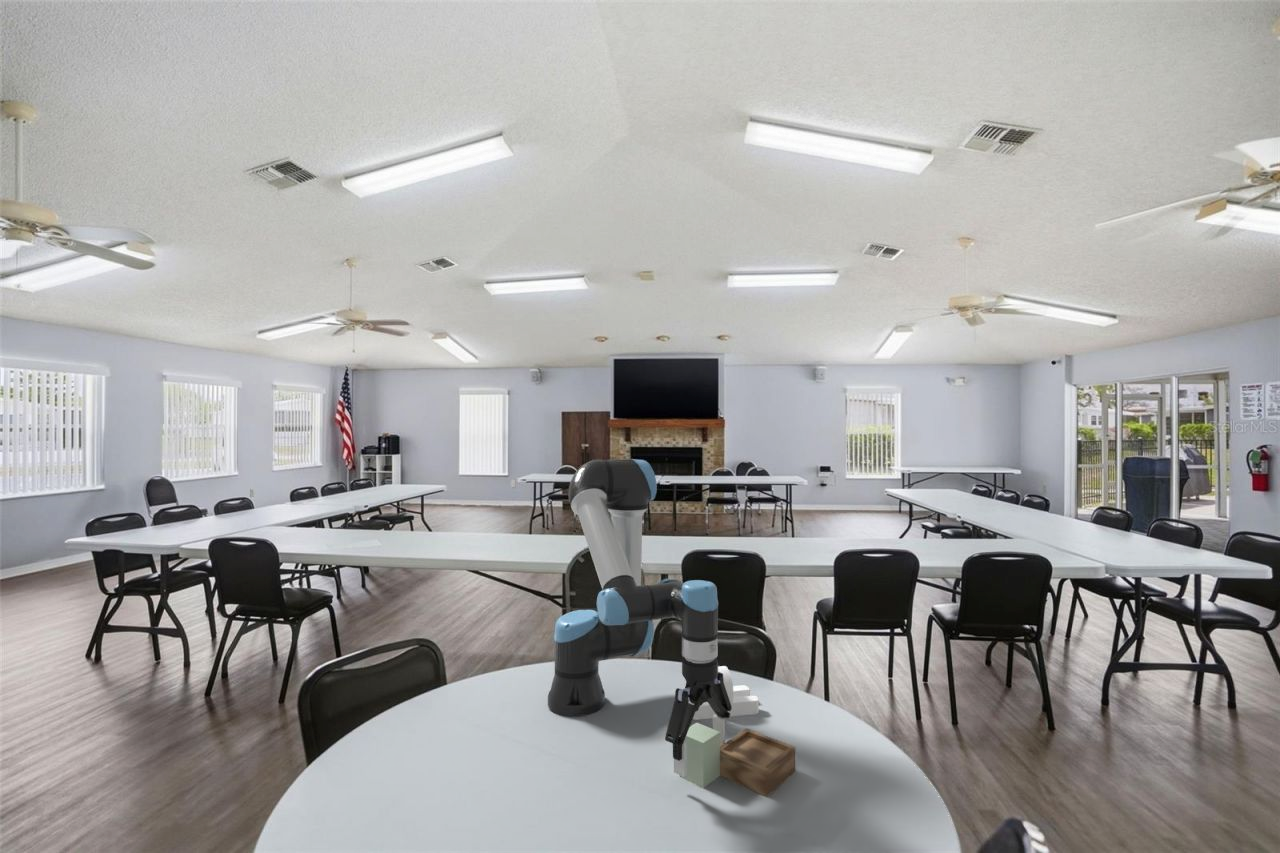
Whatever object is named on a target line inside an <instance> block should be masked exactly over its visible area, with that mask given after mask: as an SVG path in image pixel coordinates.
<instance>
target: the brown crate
mask: <svg viewBox="0 0 1280 853" xmlns="http://www.w3.org/2000/svg"><path fill="white" fill-rule="evenodd" d="M795 772H796V747H795V746H793V745H792V744H791V745H790V744H788V743H786V742H783V741H782V740H781V741H780V740H778V739H775V738H772V737H771V736H768V735H765V734H762V733H760V732H757V731H754V730H753V729H749V728H745V729H743V730H742V731H740V732H739V733H738V734H737V733H736V734H735V735H734V736H733V737H731V738H730V739H729V740H727V741H725V743H724V744H723V745H721V746H720V777H722V778H726V779H728V780H729V781H731V782H734V783H736V784H738V785H741V786H743V787H744V788H747V789H748V790H751V791H753V792H755V793H757V794H759V795H762V796H764V797H766V798H767V797H769V796H770V795H771V794H772V793H773V792H774V791H775V790H776V789H778V788H779V787H780V786H781V785H782V784H783V783H784V782H785V781H786V780H787V779H788V778H789V777H790V776H792V775H793V774H794V773H795Z"/></svg>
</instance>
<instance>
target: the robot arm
mask: <svg viewBox="0 0 1280 853" xmlns="http://www.w3.org/2000/svg"><path fill="white" fill-rule="evenodd" d="M657 487H658V486H657V477H656V474H655V471H654V470H653V468H652V466H651V464H650V463H649V462H648V461H647V460H645V459H636V458H635V459H634V458H625V459H624V458H623V459H621V458H620V459H617V458H616V459H592V460H590V461H587V462H586V463H584V464H583V465H581V466H580V467H579V468H578V469H577V470H576V472H575V473H574V474H573V476H572V478H571V480H570V483H569V486H568V501H569V504H570V507H571V510H572V512H573V513H574V514H575V515H577V516H578V519H579V522H580V526H581V528H582V531H583V532H582V533H583V534H584V538H585V540H586V544H587V546H588V550H589V552H590V553H589V554H590V555H591V559H592V562H593V564H594V567H595V568H594V569H595V572H596V574H597V577H598V579H599V583H600V586H601V589H602V590H601V591H599V592H598V595H597V598H596V608H597V611H596V610H594V609H577V610H572V611H570V612H567V613H565V614H563V615H561V616H560V617H558V619H557V620H556V622H555V625H554V626H555V629H554V635H553V639H554V676H553V679H552V683H551V686H550V690H549V692H548V694H547V708H548V709H549V710H550V711H551V712H553V713H555V714H557V715H561V716H567V717H568V716H569V717H581V716H586V715H591V714H594V713H596V712H597V711H599V710H601V709H603V707H604V706H605V704H606V692H605V690H604V688H603V684H602V680H601V676H600V674H599V665H600V664H599V662H601V661H608V660H614V659H615V660H616V659H618V658H620V659H621V658H629V657H635V656H637V655H641V654H645V653H647V651H649V649H650V647H651V646H652V643H653V641H654V632H655V627H654V626H655V625H654V622H653V621H655V620H656V621H657V620H664V619H670V618H673V619H677V620H678V621H680V622H681V656H682V658H681V674H682V676H683V678H684V680H685V682H686V683H685V687H684V688H679V687H677V688H675V692H674V703H673V707H672V710H671V714H670V718H669V722H668V724H667V729H666V733H665V736H664V740H665V741H666V742H669V743H670V744H672V759H673V773H675V774H676V775H678V776H679V777H680V776H682V777H686V776H687V743H686V742H684V740H685V737H686V735H687V732H688V730H689V727H690V726H691V724H692V721H693V720H694V719H693V716H694V714H695V712H696V711H698V709H699V707H700V706H701V705H702V704H703V703H704V702H708V703H709V705H710V706H711V708H712V709H713V711H714V712H715V714H717V715H713V718H712V729H714V730H716V731H719V732H720V746H721V745H723V744H724V743H726V719H729V718H731V717H730V713H729V712H728V711H731V709H732V706H731V703H730V700H729V697H728V694H727V691H726V688H725V685H724V682H723V673H720V672H718V667H719V660H718V658H717V657H718V655H719V654H718V651H719V650H718V648H719V647H718V644H719V643H718V634H719V633H718V632H719V630H718V629H719V628H718V626H719V625H718V624H719V599H718V588H717V585H716V584H715V583H713V582H712V581H709V580H701V579H694V580H687V581H685V582H683V581H681V580H678V579H673V578H663V579H662V580H661V581H658V582H657V583H655V584H646V585H642V554H643V553H642V549H643V547H642V546H643V545H642V544H643V515H644V513H646V512H647V511H648V510H649V502H652V501H654V499H655V498H656V495H657V491H658V490H657V489H658V488H657ZM689 700H690V702H691V703H692V704H690V703H688V702H689ZM693 704H694V705H693ZM682 777H681V778H682Z"/></svg>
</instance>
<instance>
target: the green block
mask: <svg viewBox="0 0 1280 853" xmlns="http://www.w3.org/2000/svg"><path fill="white" fill-rule="evenodd" d="M684 742H686V743H687V776H686V777H682V776H680V775H679V777H680V778H682V779H683V780H686V781H687V782H690V783H692V784H694V785H695V786H698V787H700V788H702V789H704V788H706V787H707V786H708V785H709V784H711V783H713V782H714V781H715V780H716V779H717V778H719V777H721V775H720V732H719V731H716V730H714V729H713V728H711V727H708V726H706V725H704V724H702V723H699V722H695V723H694V724H692V725H690V727H689V730H688V732H687V735H686V737H685V740H684Z"/></svg>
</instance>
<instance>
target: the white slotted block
mask: <svg viewBox="0 0 1280 853" xmlns="http://www.w3.org/2000/svg"><path fill="white" fill-rule="evenodd" d="M718 672H720V673H723V682H724V685H725V688H726V691H727V694H728V697H729V700H730V703H731V706H732V709H731V711H728V712H729V713H730V717H729V718H731V717H738V716H740V717H741V716H749V715H750V716H751V715H752V716H753V715H757V714H759V708H760V707H759V705H760V704H759V698H758V697H757V695H751V689H750V688H749V687H748V686H747V685H744V684H743V685H742V684H740V685H734V684H733V679H732V675H731V672H730V670H729V669H728V666H726V665H722V666H720V665H718ZM688 703H690V704H692V703H691V702H690V700H689V702H688ZM693 705H694V704H693ZM713 715H717V714H715V712H714V711H713V709H712V708H711V706H710V705H709V703H708V702H704V703H703V704H702V705H701V706H700V707H699V709H698V711H696V712H695V714H694V716H693V719H692V720H695V721H697V720H699V719H700V720H708V719H710V720H711V719H713Z"/></svg>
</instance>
